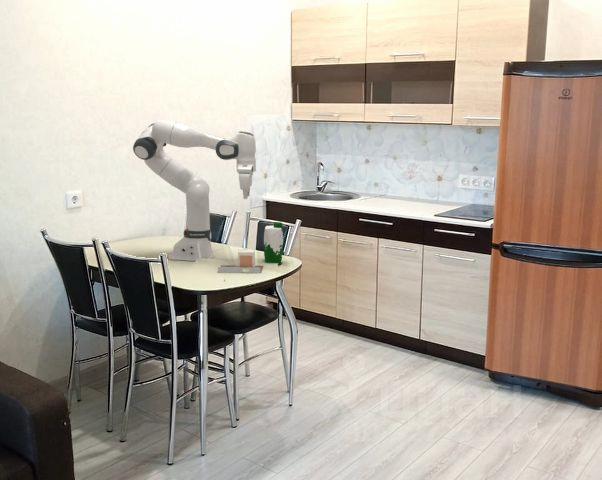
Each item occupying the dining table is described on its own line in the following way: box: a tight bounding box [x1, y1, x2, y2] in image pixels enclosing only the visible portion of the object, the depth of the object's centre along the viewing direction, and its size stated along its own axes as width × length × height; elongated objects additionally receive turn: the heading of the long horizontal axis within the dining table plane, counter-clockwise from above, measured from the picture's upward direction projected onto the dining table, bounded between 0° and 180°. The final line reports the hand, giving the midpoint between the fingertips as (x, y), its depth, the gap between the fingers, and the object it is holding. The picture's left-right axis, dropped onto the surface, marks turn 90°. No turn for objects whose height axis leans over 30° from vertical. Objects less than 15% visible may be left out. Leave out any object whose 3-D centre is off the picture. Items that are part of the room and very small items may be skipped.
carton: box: [237, 249, 256, 267], centre depth 288 cm, size 7×5×9 cm
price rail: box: [217, 266, 261, 274], centre depth 284 cm, size 19×1×2 cm, turn 89°
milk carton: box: [263, 221, 284, 266], centre depth 306 cm, size 9×9×20 cm
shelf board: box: [216, 264, 264, 274], centre depth 291 cm, size 20×14×1 cm
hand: (246, 197), depth 294 cm, fingers open, 8 cm apart
